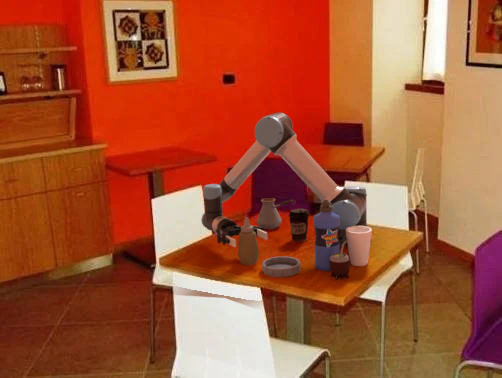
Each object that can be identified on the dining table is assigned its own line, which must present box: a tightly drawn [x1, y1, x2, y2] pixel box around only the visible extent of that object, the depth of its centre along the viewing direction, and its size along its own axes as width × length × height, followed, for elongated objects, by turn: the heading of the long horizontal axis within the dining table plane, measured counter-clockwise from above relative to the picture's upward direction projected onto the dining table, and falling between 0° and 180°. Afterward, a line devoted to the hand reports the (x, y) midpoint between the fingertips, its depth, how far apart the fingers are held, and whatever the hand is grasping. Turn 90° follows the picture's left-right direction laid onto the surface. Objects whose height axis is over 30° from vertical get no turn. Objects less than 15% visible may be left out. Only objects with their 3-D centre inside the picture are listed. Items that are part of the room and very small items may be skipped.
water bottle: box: [312, 200, 341, 272], centre depth 219 cm, size 9×9×25 cm
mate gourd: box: [329, 240, 351, 281], centre depth 209 cm, size 8×8×15 cm
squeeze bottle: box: [237, 216, 260, 266], centre depth 228 cm, size 8×8×18 cm
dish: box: [261, 255, 302, 278], centre depth 220 cm, size 14×14×3 cm
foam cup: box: [346, 226, 373, 267], centre depth 222 cm, size 10×9×13 cm
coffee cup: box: [288, 208, 310, 243], centre depth 253 cm, size 9×8×13 cm
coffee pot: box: [256, 197, 296, 230], centre depth 270 cm, size 21×12×15 cm, turn 46°
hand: (251, 239), depth 225 cm, fingers open, 13 cm apart
